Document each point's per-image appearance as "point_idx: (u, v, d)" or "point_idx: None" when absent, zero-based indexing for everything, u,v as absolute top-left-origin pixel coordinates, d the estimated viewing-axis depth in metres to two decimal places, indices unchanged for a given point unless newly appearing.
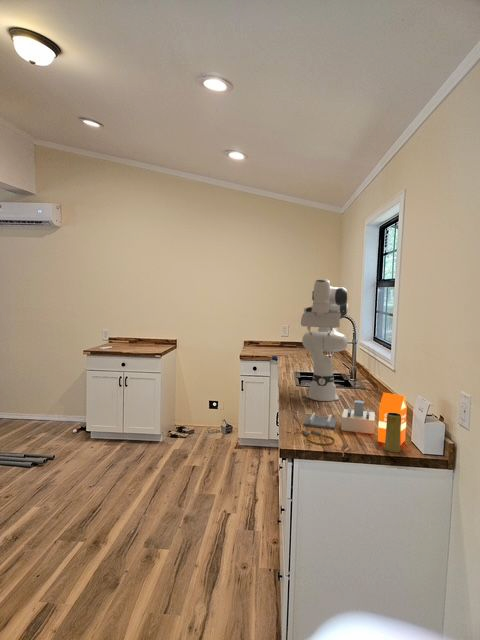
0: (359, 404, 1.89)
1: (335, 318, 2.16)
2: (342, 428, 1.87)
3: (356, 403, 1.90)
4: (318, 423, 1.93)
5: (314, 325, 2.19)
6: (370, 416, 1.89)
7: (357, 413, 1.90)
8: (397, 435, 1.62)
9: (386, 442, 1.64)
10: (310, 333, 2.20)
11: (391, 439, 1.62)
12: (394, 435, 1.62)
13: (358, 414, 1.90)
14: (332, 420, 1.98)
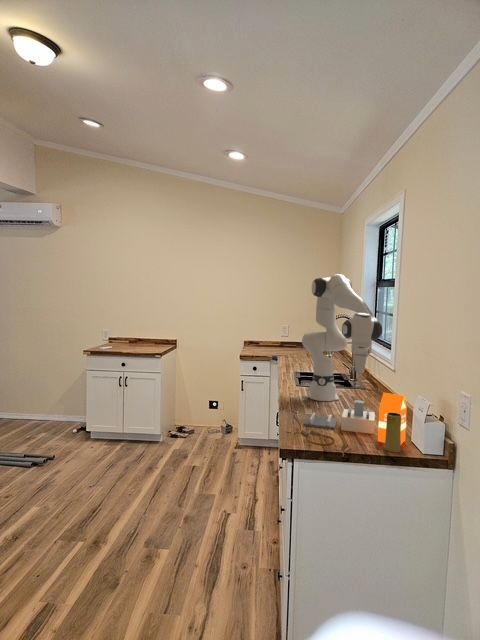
0: (359, 404, 1.89)
1: None
2: (342, 428, 1.87)
3: (356, 403, 1.90)
4: (318, 423, 1.93)
5: None
6: (370, 416, 1.89)
7: (357, 413, 1.90)
8: (397, 435, 1.62)
9: (386, 442, 1.64)
10: (361, 378, 1.85)
11: (391, 439, 1.62)
12: (394, 435, 1.62)
13: (358, 414, 1.90)
14: (332, 420, 1.98)
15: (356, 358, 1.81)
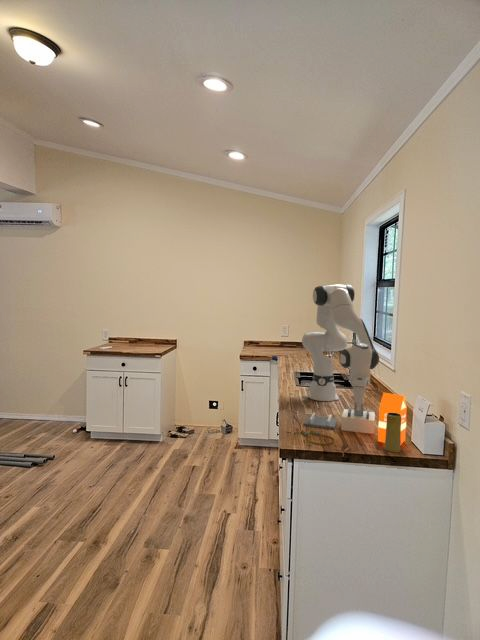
0: None
1: None
2: (342, 428, 1.87)
3: None
4: (318, 423, 1.93)
5: None
6: (370, 416, 1.89)
7: (357, 413, 1.90)
8: (397, 435, 1.62)
9: (386, 442, 1.64)
10: (360, 408, 1.88)
11: (391, 439, 1.62)
12: (394, 435, 1.62)
13: (358, 414, 1.90)
14: (332, 420, 1.98)
15: (355, 390, 1.82)
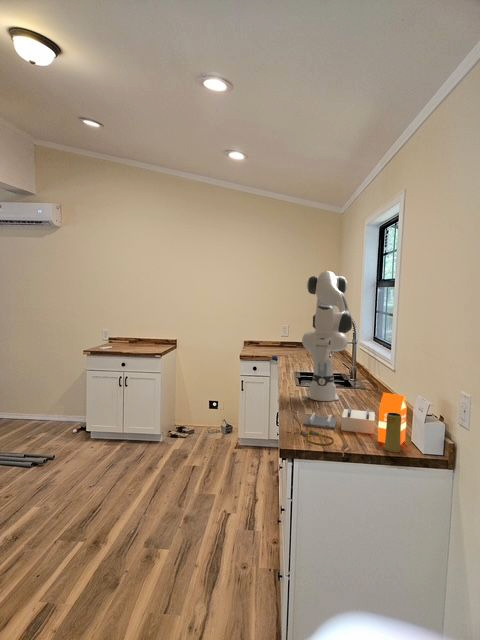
0: None
1: (329, 347, 2.02)
2: (342, 428, 1.87)
3: None
4: (318, 423, 1.93)
5: (326, 359, 1.92)
6: (370, 416, 1.89)
7: (321, 373, 1.94)
8: (397, 435, 1.62)
9: (386, 442, 1.64)
10: None
11: (391, 439, 1.62)
12: (394, 435, 1.62)
13: (322, 374, 1.94)
14: (332, 420, 1.98)
15: (317, 349, 1.86)
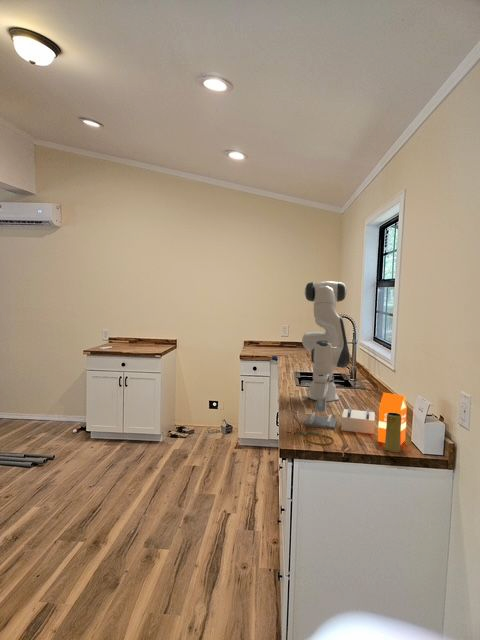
0: None
1: None
2: (342, 428, 1.87)
3: None
4: (318, 423, 1.93)
5: (324, 395, 1.93)
6: (370, 416, 1.89)
7: (319, 409, 1.95)
8: (397, 435, 1.62)
9: (386, 442, 1.64)
10: (322, 404, 1.93)
11: (391, 439, 1.62)
12: (394, 435, 1.62)
13: (320, 410, 1.95)
14: (332, 420, 1.98)
15: (315, 386, 1.87)
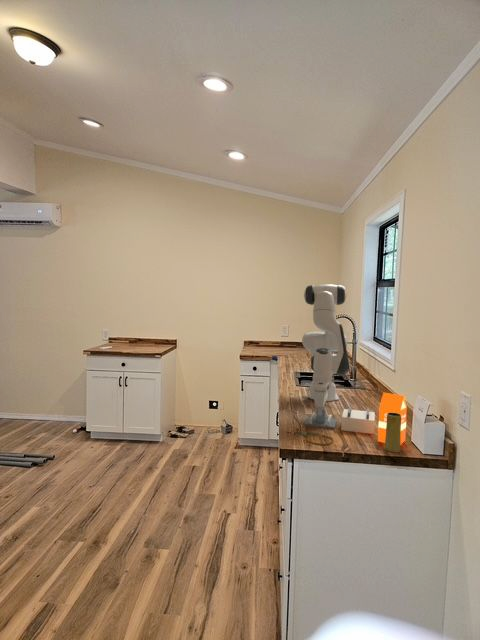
0: None
1: None
2: (342, 428, 1.87)
3: None
4: (318, 423, 1.93)
5: (324, 403, 1.93)
6: (370, 416, 1.89)
7: (319, 419, 1.95)
8: (397, 435, 1.62)
9: (386, 442, 1.64)
10: (321, 412, 1.92)
11: (391, 439, 1.62)
12: (394, 435, 1.62)
13: (320, 420, 1.95)
14: (332, 420, 1.98)
15: (315, 394, 1.88)
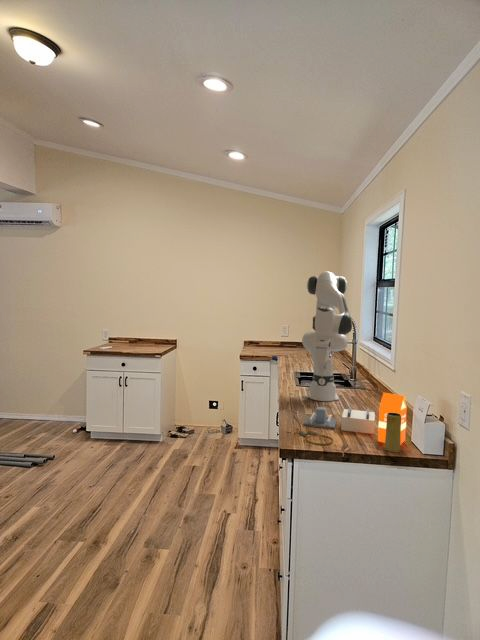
0: (321, 411, 1.95)
1: (329, 349, 2.02)
2: (342, 428, 1.87)
3: (318, 410, 1.95)
4: (318, 423, 1.93)
5: (326, 361, 1.92)
6: (370, 416, 1.89)
7: (319, 419, 1.95)
8: (397, 435, 1.62)
9: (386, 442, 1.64)
10: (323, 370, 1.91)
11: (391, 439, 1.62)
12: (394, 435, 1.62)
13: (320, 420, 1.95)
14: (332, 420, 1.98)
15: (317, 351, 1.86)
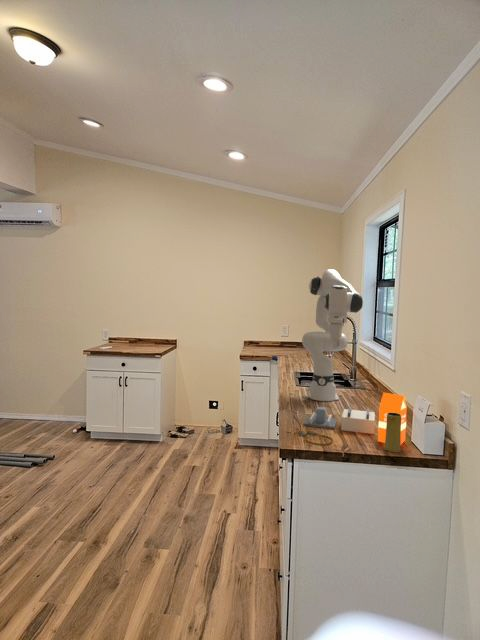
0: (321, 411, 1.95)
1: None
2: (342, 428, 1.87)
3: (318, 410, 1.95)
4: (318, 423, 1.93)
5: None
6: (370, 416, 1.89)
7: (319, 419, 1.95)
8: (397, 435, 1.62)
9: (386, 442, 1.64)
10: (337, 346, 1.98)
11: (391, 439, 1.62)
12: (394, 435, 1.62)
13: (320, 420, 1.95)
14: (332, 420, 1.98)
15: (331, 326, 1.94)
